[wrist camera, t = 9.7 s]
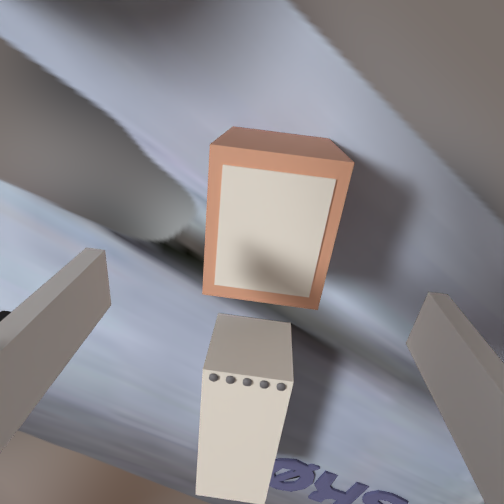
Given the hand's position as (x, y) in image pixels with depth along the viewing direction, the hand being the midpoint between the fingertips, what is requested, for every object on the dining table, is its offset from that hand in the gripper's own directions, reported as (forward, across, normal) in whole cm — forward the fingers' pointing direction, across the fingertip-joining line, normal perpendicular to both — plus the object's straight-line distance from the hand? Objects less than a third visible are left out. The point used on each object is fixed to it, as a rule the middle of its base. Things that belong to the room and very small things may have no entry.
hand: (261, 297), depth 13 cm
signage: (+17, +12, -45) cm, 49 cm away
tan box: (+17, 0, -1) cm, 17 cm away
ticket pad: (+17, 0, -25) cm, 30 cm away
